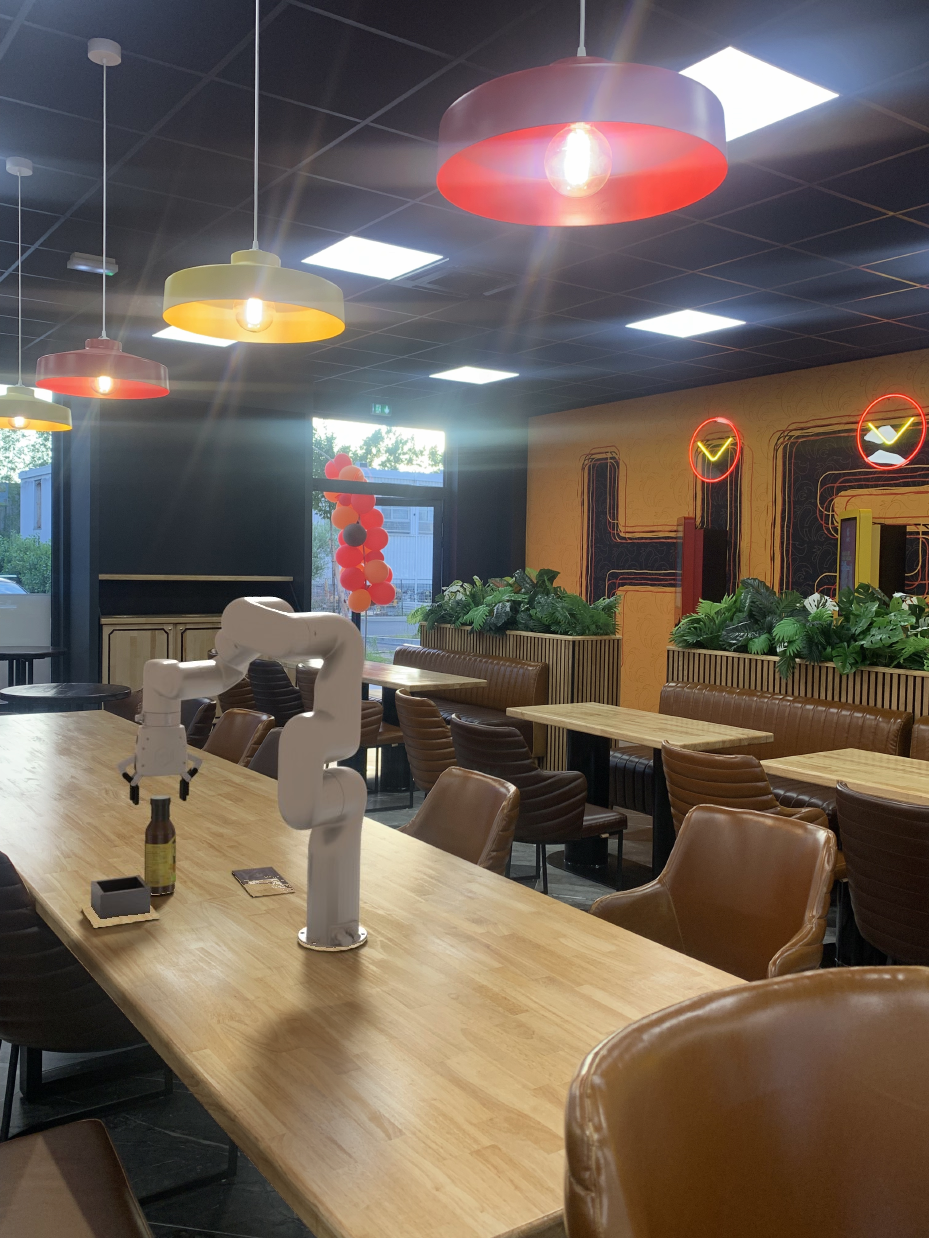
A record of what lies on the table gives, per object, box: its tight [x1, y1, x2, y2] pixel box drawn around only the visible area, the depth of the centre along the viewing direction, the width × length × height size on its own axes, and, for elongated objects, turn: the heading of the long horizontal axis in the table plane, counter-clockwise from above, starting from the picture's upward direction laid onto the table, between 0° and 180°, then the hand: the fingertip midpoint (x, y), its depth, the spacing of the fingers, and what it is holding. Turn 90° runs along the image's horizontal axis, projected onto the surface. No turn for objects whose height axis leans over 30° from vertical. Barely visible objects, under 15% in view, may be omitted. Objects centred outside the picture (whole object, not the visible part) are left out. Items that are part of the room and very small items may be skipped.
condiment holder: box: [90, 874, 152, 919], centre depth 193 cm, size 12×12×6 cm
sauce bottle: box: [143, 794, 177, 894], centre depth 206 cm, size 6×6×20 cm
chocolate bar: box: [231, 866, 294, 891], centre depth 215 cm, size 9×1×18 cm
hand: (159, 801), depth 206 cm, fingers open, 9 cm apart
